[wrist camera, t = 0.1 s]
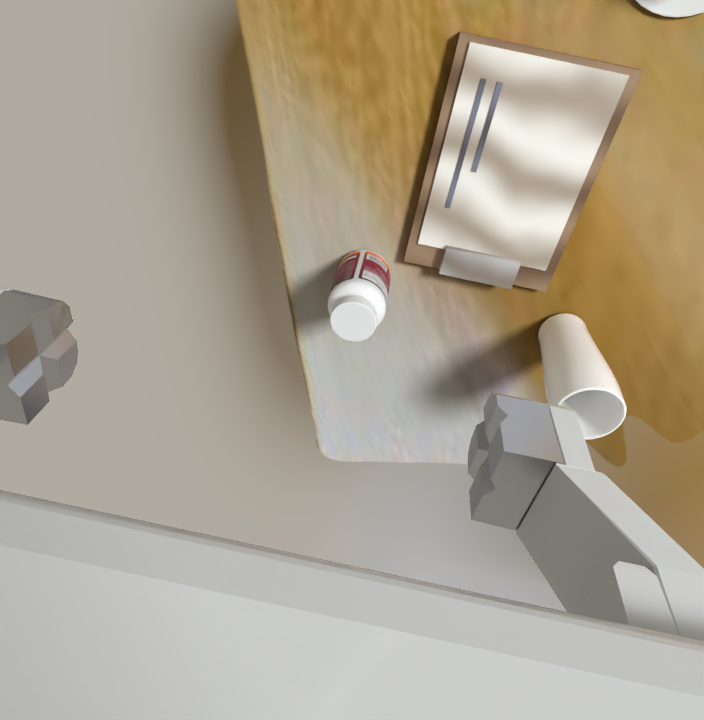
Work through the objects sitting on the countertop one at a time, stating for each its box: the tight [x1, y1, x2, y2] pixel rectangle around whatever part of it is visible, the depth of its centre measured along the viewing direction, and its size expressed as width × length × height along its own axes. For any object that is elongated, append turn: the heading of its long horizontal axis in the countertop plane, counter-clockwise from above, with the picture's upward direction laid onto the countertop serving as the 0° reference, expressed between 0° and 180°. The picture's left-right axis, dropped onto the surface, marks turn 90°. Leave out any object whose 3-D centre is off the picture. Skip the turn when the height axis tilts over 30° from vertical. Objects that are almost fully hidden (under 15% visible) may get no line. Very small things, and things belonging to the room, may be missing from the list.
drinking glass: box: [538, 313, 626, 439], centre depth 57 cm, size 7×7×15 cm
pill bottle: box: [328, 250, 390, 341], centre depth 58 cm, size 6×6×11 cm
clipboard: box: [404, 32, 643, 292], centre depth 53 cm, size 22×16×2 cm
